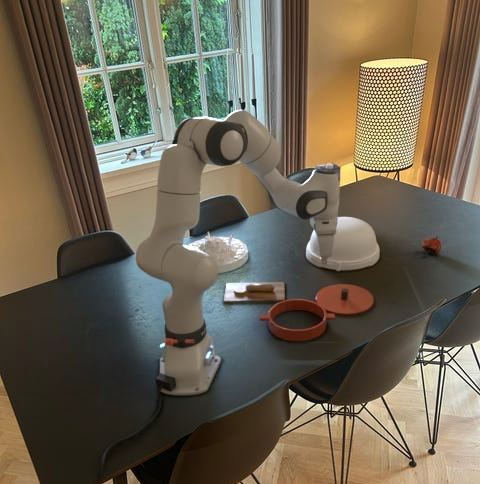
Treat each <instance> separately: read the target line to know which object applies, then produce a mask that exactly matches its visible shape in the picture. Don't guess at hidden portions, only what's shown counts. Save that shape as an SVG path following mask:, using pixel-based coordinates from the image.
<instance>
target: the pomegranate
mask: <svg viewBox="0 0 480 484" xmlns="http://www.w3.org/2000/svg"><path fill="white" fill-rule="evenodd" d="M421 247H422V249H423V251H424V252H425V255H424V257H427V256H428V254H432V255H433V256H436V255H438V254H439V253H440V252H441V250H442V242H441V241H440V239H438V236H436V237H427V238H425V239H424V240H423V241H422V244H421Z"/></svg>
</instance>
